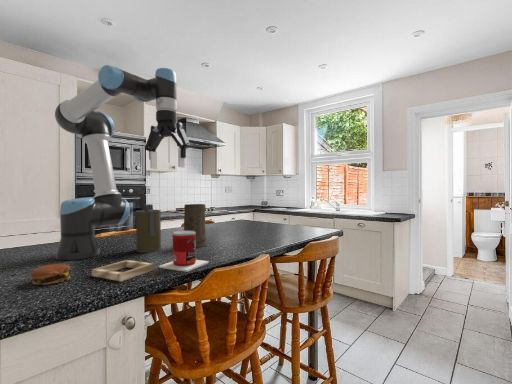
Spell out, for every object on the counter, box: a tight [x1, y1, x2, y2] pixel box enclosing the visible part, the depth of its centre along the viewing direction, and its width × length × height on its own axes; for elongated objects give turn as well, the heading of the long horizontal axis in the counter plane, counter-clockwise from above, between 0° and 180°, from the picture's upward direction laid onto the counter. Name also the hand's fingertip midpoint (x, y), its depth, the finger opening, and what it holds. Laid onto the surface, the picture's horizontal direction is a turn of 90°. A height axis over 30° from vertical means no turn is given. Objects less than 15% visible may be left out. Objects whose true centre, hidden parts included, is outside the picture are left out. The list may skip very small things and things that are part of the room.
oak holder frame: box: [91, 259, 155, 282], centre depth 91 cm, size 13×13×2 cm
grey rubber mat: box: [158, 259, 209, 273], centre depth 100 cm, size 12×12×1 cm
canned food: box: [172, 230, 197, 266], centre depth 100 cm, size 8×8×11 cm
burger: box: [30, 263, 71, 286], centre depth 84 cm, size 10×9×5 cm
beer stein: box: [183, 203, 208, 249], centre depth 136 cm, size 15×11×20 cm
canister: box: [135, 203, 162, 253], centre depth 125 cm, size 11×10×20 cm
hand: (167, 168), depth 107 cm, fingers open, 13 cm apart
